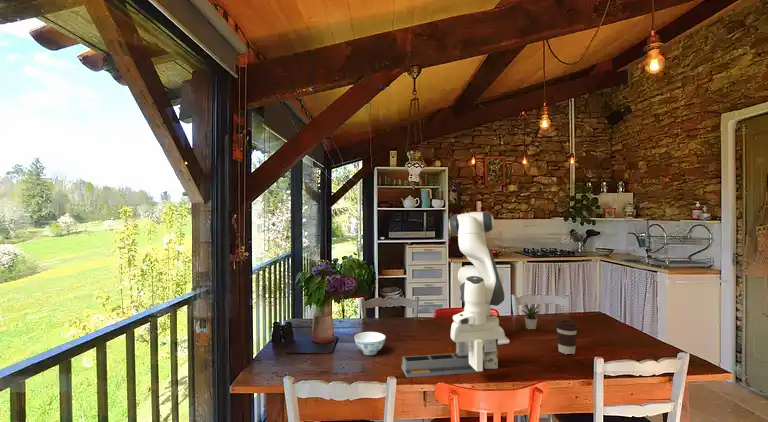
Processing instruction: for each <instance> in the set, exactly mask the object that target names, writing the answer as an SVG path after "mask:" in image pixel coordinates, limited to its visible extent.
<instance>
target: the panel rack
mask: <svg viewBox="0 0 768 422" xmlns="http://www.w3.org/2000/svg"><path fill="white" fill-rule="evenodd" d="M455 343H456V344H455V353H442V354H440V353H439V354H438V353H437V354H425V355H422V354H421V355H406V356H405V355H404V356H402V361H401V362H402V363H401V366H400V367H401V369H402V371H403V373H404V375H405V376H406V377H405V378H415V377H416V378H417V377H431V376H442V375H443V376H444V375H457V374H458V375H461V374H473V373H484V370H483V371H476V370H475V369H474V368H473V367H472V366H471V365H470V364H469V350H468V345H467V344H466V342H455Z"/></svg>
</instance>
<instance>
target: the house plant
mask: <svg viewBox="0 0 768 422" xmlns="http://www.w3.org/2000/svg"><path fill="white" fill-rule="evenodd" d="M534 304H535V303H533V302H530V305H531V306H530V307H529V304H528V303H527V302H526V301H525V302H524V304H523V305H521V306H522V307H521V308H523V309H522V310H521V312H522V313H524V323H525V328H526V329H527V328H528V329H527V330H530V329H535V330H536V329H537V322H538V317H540V312H541V311H540V310H538V308H539V307H540V306H541V305H542V304H541V303H540V304H537V306H536V307H535V308H534ZM537 316H538V317H537Z"/></svg>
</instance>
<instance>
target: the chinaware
mask: <svg viewBox="0 0 768 422" xmlns="http://www.w3.org/2000/svg"><path fill="white" fill-rule="evenodd" d="M385 341H386V335H385V334H383V333H381V332H378V331H365V332H359V333H357V334H355V335H354V342H355V345H356V346H357V348H358V349H359V350H360V351H361V352H362V354H363V355H366V356H374V355H376V354H377V353H378V351H379V350H381V349H382V348H383V346H384V344H385V343H386V342H385Z"/></svg>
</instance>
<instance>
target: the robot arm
mask: <svg viewBox="0 0 768 422" xmlns="http://www.w3.org/2000/svg"><path fill="white" fill-rule="evenodd" d="M494 225H495V219H494V217H493V215H492V212H490V211H486V210H485V211H469V212H465V213H460V214H453V215H451V217H449V221H448V228H449V230H450V233H451V234H453V235H455V236H457V240H458V241H457V242H458V243H457V244H458V247H459V251H460V253H462V254H463V255H464V256H465V257H466V259H467V260H468V261H469V262H470V263H471V264H473V265H467V266H466V265H465V266H462V267H460V268H459V270H458V272H457V279H458V282H459V284H461V285H459V289H460V290H459V291H460V292H459V293H460V296H459V300H461V302H462V303H464V307H463V311H461V312H459V313H457V314H454V315H453V316H452V320H453V322H452V323H451V326H450V339H451V340H452V341H453V343H456V342H466V344H467V345H468V350H469V352H472V351H473V347H472V346H470V344H471V341H474V340H475V339H481V340H482V341H483V345H484V344H485V340H492V339H498V346H500V345H506V344H510V339H509V338H508V337H507V336H506V333H505V331H504V329H503V328H502V327H501V326H500V320H499V317H497V316H496V315H493V314H491V306H493V307H494V306H499V305H501V304H502V303H503V302H504V301H505V289H504V286H503V283H504V275H503V273H502V272H501V271H500V270H498V268H497V265H496V261H495V258H494V254H493V252H492V250H491V249H490V248H489V247H488V246H487V240H486V239H487V238H486V236H485V235H486V234H487V233H489V232H491V231H492V230H493V229H494ZM485 233H486V234H485Z"/></svg>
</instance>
